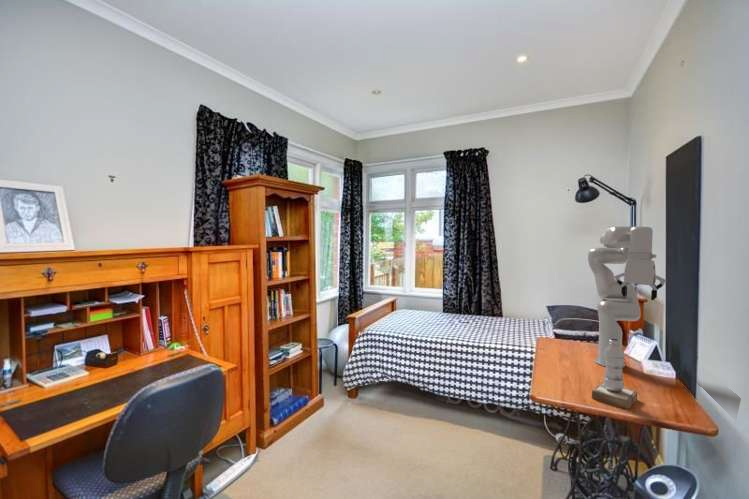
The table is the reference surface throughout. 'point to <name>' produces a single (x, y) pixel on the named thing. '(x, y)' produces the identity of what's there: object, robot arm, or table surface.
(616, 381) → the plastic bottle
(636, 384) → the table surface
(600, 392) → the plinth
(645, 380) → the table surface
